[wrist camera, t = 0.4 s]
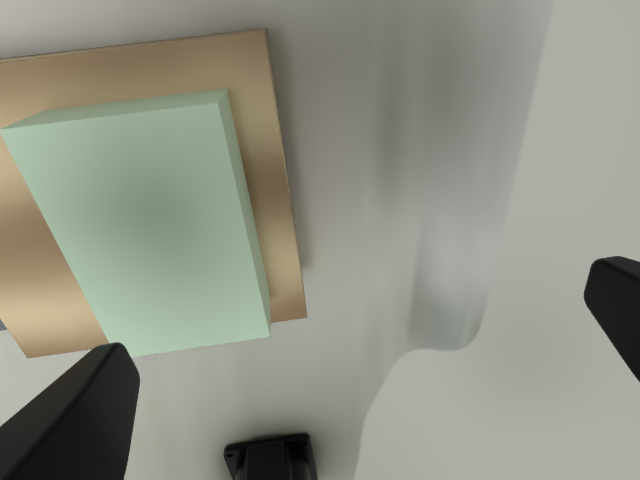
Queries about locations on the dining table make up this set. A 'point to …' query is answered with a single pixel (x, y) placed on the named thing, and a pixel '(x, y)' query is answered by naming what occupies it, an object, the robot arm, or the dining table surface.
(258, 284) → the sage green tile
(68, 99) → the deck
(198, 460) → the dining table surface
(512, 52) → the dining table surface
